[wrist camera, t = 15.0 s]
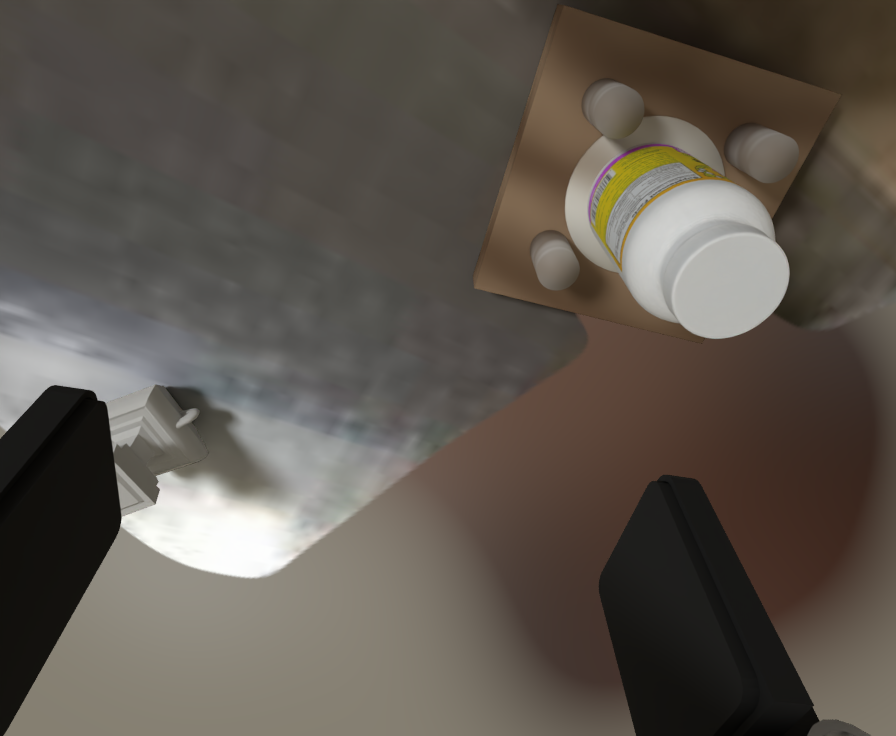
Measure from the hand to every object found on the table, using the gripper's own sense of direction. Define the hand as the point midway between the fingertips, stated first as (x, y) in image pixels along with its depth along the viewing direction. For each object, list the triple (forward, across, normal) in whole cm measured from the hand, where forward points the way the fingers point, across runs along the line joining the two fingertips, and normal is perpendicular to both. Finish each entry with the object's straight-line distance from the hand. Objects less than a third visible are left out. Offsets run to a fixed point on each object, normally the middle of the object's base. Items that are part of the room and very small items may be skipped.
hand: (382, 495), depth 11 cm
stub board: (+29, -14, +1) cm, 32 cm away
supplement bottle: (+27, -13, +1) cm, 30 cm away
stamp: (+29, +16, +24) cm, 41 cm away
